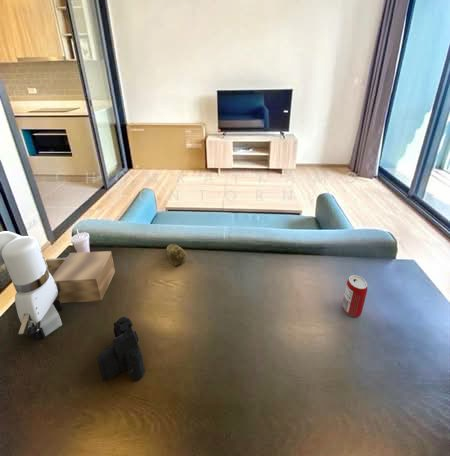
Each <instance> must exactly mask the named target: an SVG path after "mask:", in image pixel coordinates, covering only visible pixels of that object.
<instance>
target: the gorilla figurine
mask: <svg viewBox="0 0 450 456" xmlns="http://www.w3.org/2000/svg"><path fill="white" fill-rule="evenodd" d="M133 325H134V324H133V321H132V320H131V319H130V318H129V317H127V316H121V317H119V318H118V319H117V320H116V321H115V322H114V323H113V334H114V338H113V340H112V343H113V345H110V346H109V347H108V348H106V349H104V350H103V351H101V352H100V354H99V355H97V356H96V360H97V365H98V369H99V373H100V376H101V380H102V382H103V383H105V382H106V381H109V380H111V379H112V378H113V377H115V376H116V375H119V374H121V372H125V371H126V370H127V373H128V374H129V376H130V379H131V381H132V382H139V381H140V380H141V379H142V378H143V377H144V375H145V372H146V368H145V363H144V359H143V358H144V357H143V354H142V351H141V347H140V346H139V343H138V342H139V340H140V339H139V337H138V333H137V331H136V330H134V329H133Z"/></svg>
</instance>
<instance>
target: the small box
mask: <svg viewBox="0 0 450 456" xmlns="http://www.w3.org/2000/svg"><path fill="white" fill-rule="evenodd" d="M33 325H34V326H35V325H36V322H35V323H33ZM62 326H63V322H62V320H61V317H60V314H59V312H57V310H56V308H55V307H54V305H53V303H52V305H51V306H50V308H49V309H48V311H47V312H46V314H45V315H44V317H43V318H42V319H41V322H40V328H42V329H43V331H44V334H45V337H47V336H48V335H50V334H52V333H54V331H55V330H57V329H59V328H61V327H62Z"/></svg>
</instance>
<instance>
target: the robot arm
mask: <svg viewBox="0 0 450 456" xmlns="http://www.w3.org/2000/svg"><path fill="white" fill-rule="evenodd" d="M43 257H44V255H43V252H42V249H41V245H40V243H39V240H38V239H37V238H36V237H35V236H33V235H20V234H18V233H16V232H12V231H8V230H4V231H0V268H1V267H2V266H3V265H5V267H6V269H7V272H8V275H9V277H10V280H11V282H12V285H13V287H14V290H15V292H16V293H15V295H14V302H15V303H14V305H15V310H16V312H17V316H18V319H19V322H20V323H21V324H20V327H19V330H18V332H17V333H18V336H23V335H24V336H25V335H30V336H31V339H32V340H33V341H41V340H42V341H43V340H45V339H46V336H45V334H44V331H43V329H42V328H40V322H41V319H42V318H43V317H44V315H45V314H46V312H47V311H48V309H49V308H50V306H51V305H52V303H53V305H54V307H55V308H56V310H57V312H58V313H60V312H62V310H63V307H62V303H60V301H59V299H60V296H59V292H60V288H59V287H60V284H59V281H54V279H53V277H52V276H51V274H50V272H48V271H49V269H48V270H47V267H48V266H47V267H46V264H47V263H45V261H46V260H45V261H44V258H45V257H44V258H43ZM35 322H36V325H34V326H33V324H34V323H35Z"/></svg>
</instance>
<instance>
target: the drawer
mask: <svg viewBox="0 0 450 456" xmlns="http://www.w3.org/2000/svg"><path fill="white" fill-rule="evenodd" d="M43 258H44V261H45V263H46V267H47V270H48V272H49V273H50V274H51V276H53V275H54V274H55V272H56V271H57V270H58V268H59V267H60V266H61V264H62V263H63V262H64V260H65V259H66V258H67V257H58V258H57V257H56V258H46V259H45V257H44V256H43Z"/></svg>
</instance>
